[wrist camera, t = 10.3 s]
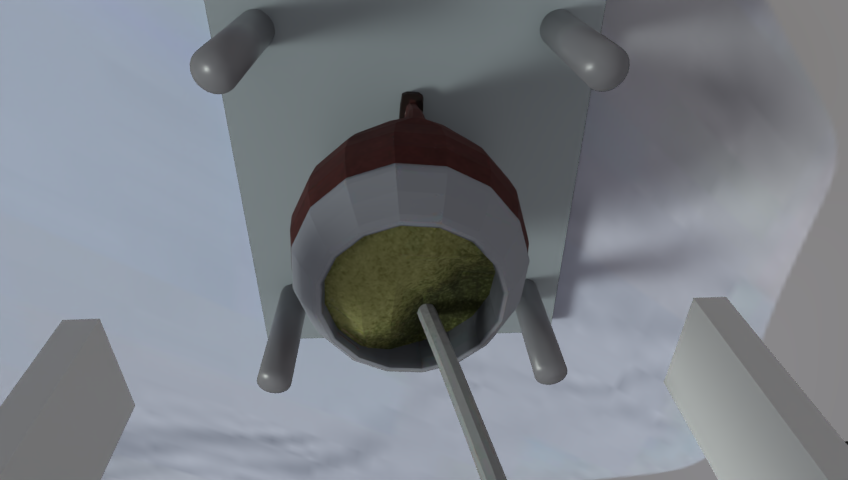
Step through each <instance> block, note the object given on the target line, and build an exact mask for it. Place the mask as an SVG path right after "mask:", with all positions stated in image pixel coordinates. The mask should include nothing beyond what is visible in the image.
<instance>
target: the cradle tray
mask: <svg viewBox="0 0 848 480" xmlns="http://www.w3.org/2000/svg"><path fill="white" fill-rule="evenodd" d="M204 3H205V8H206V13H207V18H208V24H209V29H210V34H211V39H210V40H209V41H208V42H207V43H205V44H204V45H203V46H202V47H200V48H199V49H198V50H197V51H196V52H195V53H194V54H193V56H192V58H191V61H190V71H191V74H192V77H193V79H194V80H195V82H196V83H197V84H198V85H199V86H200V87H201V88H202V89H204V90H206V91H207V92H210V93H213V94H222V98H223V103H224V108H225V114H226V119H227V124H228V130H229V135H230V140H231V146H232V151H233V156H234V161H235V167H236V172H237V177H238V183H239V188H240V193H241V198H242V204H243V209H244V214H245V220H246V225H247V230H248V236H249V241H250V246H251V251H252V257H253V262H254V267H255V273H256V278H257V283H258V288H259V294H260V299H261V304H262V310H263V315H264V320H265V326H266V331H267V336H268V341H267V345H266V348H265V352H264V356H263V359H262V363H261V367H260V370H259V374H258V377H257V383H258V385H259V387H260V388H262V389H263V390H265V391H267V392H270V393H281V392H284V391H286V390H288V389H289V387H290V386H291V382H292V377H293V372H294V367H295V363H296V358H297V353H298V348H299V343H300V338H324V337H323V336H322V335H321V334H320V333H318V331H317V330H316V328H315V327H314V326H313V324H312V323H311V321H310V319H309V317H308V315H307V314H306V312H305V310H304V308H303V306H302V305H301V303H300V301H299V299H298V297H297V295H296V294H295V292H294V290H293V283H292V267H291V242H290V225H291V217H292V214H293V212H294V209H295V207H296V205H297V203H298V201H299V199H300V196H301V194H302V192H303V190H304V188H305V186H306V183H307V181H308V179H309V177H310V175H311V173H312V172H313V170H314V168H315V166H316V165H318V164H319V163H320V162H321V161H322V160H324V159H325V158H326V157H327V156H328V155H329V154H331V153H332V152H333V151H334V150H335V149H336V148H338V147H339V146H340V145H341V144H342V143H344V142H345V141H346V140H347V139H348V138H350V137H351V136H353V135H354V134H356V133H358V132H361V131H364V130H367V129H369V128H372V127H375V126H377V125H380V124H383V123H385V122H388V121H391V120H396V119H399V112H400V102H401V96H402V93H404V92H406V91H408V92H419V93H420V94H422V95H423V114H424V117H425V119H427V120H430V121H433V122H436V123H439V124H442V125H444V126H446V127H448V128H449V129H451V130H453V131H454V132H456V133H458V134H460V135H461V136H463V137H465V138H467V139H468V140H470V141H472V142H474V143H475V144H477V145H478V146H480V147H482V148H483V149H484V151H485V152H486V153H487V154H488V155H489V156H490V158H491V159H492V160H493V161H494V162H495V163H496V165H497V166H498V167H499V168H500V169H501V170H502V172H503V173H504V174H505V175H506V176H507V177H508V179H509V180H510V181H511V183H512V184H513V186H514V187H515V189H516V190H517V194H518V198H519V202H520V207H521V211H522V215H523V219H524V223H525V227H526V231H527V236H528V240H529V249H528V256H529V260H530V261H529V266H528V270H527V274H526V279H525V283H524V287H523V291H522V296H521V300H520V302H519V304H518V306H517V307H516V309H515V311H514V312H513V313H512V315H511V316H510V317H509V318H508V320H507V321H506V322H505V323H504V325H503V326H502V327H501V328H500V330H499V331H498V332H497V333H522V335H523V338H524V342H525V345H526V348H527V352H528V355H529V359H530V362H531V365H532V369H533V372H534V376H535V379H536V380H537V381H538V382H539V383H541V384H546V385H551V384H555V383H558V382H560V381H561V380H563V379H564V378H565V376H566V375H567V367H566V364H565V362H564V359H563V356H562V353H561V351H560V348H559V345H558V343H557V340H556V337H555V334H554V332H553V329H552V326H551V322H552V316H553V310H554V304H555V298H556V292H557V286H558V281H559V275H560V269H561V263H562V257H563V251H564V245H565V239H566V234H567V228H568V222H569V216H570V210H571V204H572V198H573V193H574V187H575V181H576V175H577V169H578V163H579V157H580V152H581V146H582V140H583V134H584V128H585V122H586V116H587V111H588V105H589V99H590V93H591V89H593V90H595V91H601V92H603V91H609V90H612V89H614V88H615V87H617V86H618V85H620V84H621V83H622V81H623V80H624V79H625V77H626V76H627V73H628V70H629V58H628V55H627V53H626V52H625V51H624V50H623V49H622V48H621V47H619V46H618V45H616V44H615V43H614V42H612V41H611V40H609V39H608V38H606V37H605V36H603V35H602V34H601V29H602V23H603V17H604V11H605V5H606V0H204Z"/></svg>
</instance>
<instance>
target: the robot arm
mask: <svg viewBox="0 0 848 480" xmlns="http://www.w3.org/2000/svg"><path fill="white" fill-rule="evenodd" d="M664 384H665V385H666V387H667V389H668V391H669V392H670V394H671V396H672V398H673V400H674V401H675V403H676V405H677V407H678V409H679V410H680V412H681V414H682V416H683V418H684V419H685V421H686V423H687V425H688V426H689V428H690V430H691V432H692V434H693V435H694V437H695V439H696V441H697V443H698V444H699V446H700V448H701V450H702V451H703V453H704V455H705V457H706V459H707V460H708V462H709V464H710V466H711V468H712V469H713V471H714V473H715V475H716V476H717V478H718V480H848V441H846V442H845V441H844V440H843V439H842V438H841V437H840V435H839V434H838V433H837V432H836V430H835V429H834V428H833V427H832V426H831V424H830V423H829V422H828V421H827V420H826V419H825V417H824V416H823V415H822V413H821V412H820V411H819V410H818V409H817V407H816V406H815V405H814V404H813V403H812V401H811V400H810V399H809V398H808V397H807V395H806V394H805V393H804V392H803V390H802V389H801V388H800V387H799V385H798V384H797V383H796V382H795V381H794V379H793V378H792V377H791V376H790V374H789V373H788V372H787V371H786V370H785V368H784V367H783V366H782V365H781V363H780V362H779V361H778V360H777V359H776V357H775V356H774V355H773V354H772V352H770V350H769V349H768V348H767V346H766V345H765V344H764V343H763V342H762V340H761V339H760V338H759V337H758V335H757V334H756V333H755V332H754V331H753V329H752V328H751V327H750V326H749V324H748V323H747V322H746V321H745V320H744V318H743V317H742V316H741V315H740V313H739V312H738V311H737V310H736V309H735V307H734V306H733V305H732V304H731V303H730V301H729V300H728V299H727V298H726V297H710V298H693V301H692V304H691V307H690V309H689V312H688V315H687V318H686V321H685V324H684V326H683V329H682V332H681V335H680V338H679V340H678V343H677V346H676V349H675V352H674V355H673V357H672V360H671V363H670V366H669V369H668V372H667V374H666V377H665V380H664ZM134 407H135V404H134V401H133V399H132V397H131V394H130V392H129V389H128V387H127V384H126V382H125V379H124V377H123V375H122V372H121V370H120V367H119V365H118V362H117V360H116V358H115V355H114V353H113V350H112V348H111V345H110V343H109V341H108V338H107V336H106V333H105V331H104V328H103V326H102V323H101V321H100V319H80V320H62V322H61V323H60V324H59V326H58V327H57V328H56V330H55V331H54V333H53V334H52V335H51V337H50V338H49V340H48V341H47V342H46V344H45V345H44V347H43V348H42V349H41V351H40V352H39V354H38V355H37V356H36V358H35V359H34V361H33V362H32V363H31V365H30V366H29V367H28V369H27V370H26V372H25V373H24V374H23V376H22V377H21V379H20V380H19V381H18V383H17V384H16V386H15V387H14V388H13V390H12V391H11V393H10V394H9V395H8V397H7V398H6V399H5V401H4V402H3V404H2V405H1V406H0V480H101V478H102V476H103V474H104V471H105V469H106V467H107V465H108V463H109V461H110V459H111V456H112V454H113V452H114V450H115V448H116V446H117V443H118V441H119V439H120V437H121V435H122V433H123V431H124V428H125V426H126V424H127V422H128V420H129V418H130V416H131V413H132V411H133V409H134Z"/></svg>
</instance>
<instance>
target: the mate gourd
mask: <svg viewBox="0 0 848 480" xmlns="http://www.w3.org/2000/svg"><path fill="white" fill-rule="evenodd" d="M290 242H291V267H292V283H293V290H294V292H295V294H296V295H297V297H298V299H299V301H300V303H301V305H302V306H303V308H304V310H305V312H306V314H307V315H308V317H309V319H310V321H311V323H312V324H313V326H314V327H315V328H316V330H317V331H318V333H320V334H321V335H322V336H323V337H324V338H326V339H327V340H328V341H329V342H331V343H332V344H333V345H334V346H336V347H337V348H338V349H340V350H341V351H342V352H343V353H345V354H346V355H347V356H349V357H350V358H351V359H352V360H354V361H357V362H360V363H363V364H366V365H369V366H372V367H375V368H378V369H382V370H385V371H398V372H426V371H429V370H433V369H437V368H439V369H440V372H441V374H442V377H443V380H444V382H445V385H446V388H447V390H448V393H449V396H450V398H451V401H452V403H453V406H454V409H455V411H456V414H457V417H458V419H459V422H460V425H461V427H462V430H463V433H464V435H465V438H466V441H467V443H468V446H469V449H470V451H471V454H472V457H473V460H474V462H475V465H476V468H477V470H478V473H479V476H480V479H481V480H507V479H506V476H505V474H504V471H503V469H502V467H501V464H500V462H499V459H498V457H497V454H496V452H495V449H494V447H493V444H492V442H491V440H490V437H489V435H488V432H487V430H486V427H485V425H484V422H483V420H482V418H481V415H480V413H479V410H478V408H477V405H476V403H475V401H474V398H473V396H472V393H471V391H470V388H469V386H468V383H467V381H466V379H465V376H464V374H463V371H462V369H461V366H460V364H459V362H460V361H461V360H463V359H465V358H466V357H468V356H470V355H471V354H473V353H474V352H476V351H478V350H479V349H481V348H483V347H484V346H486V345H487V344H488V343H489V342H490V341H491V339H492V338H493V337H494V336H495V335H496V333H497V332H498V331H499V330H500V328H501V327H502V326H503V325H504V323H505V322H506V321H507V320H508V318H509V317H510V316H511V315H512V313H513V312H514V311H515V309H516V307H517V306H518V304H519V302H520V300H521V296H522V291H523V287H524V283H525V279H526V274H527V270H528V266H529V261H530V260H529V256H528V249H529V240H528V236H527V231H526V227H525V223H524V219H523V215H522V211H521V207H520V202H519V198H518V194H517V190H516V189H515V187H514V186H513V184H512V183H511V181H510V180H509V179H508V177H507V176H506V175H505V174H504V173H503V172H502V170H501V169H500V168H499V167H498V166H497V165H496V163H495V162H494V161H493V160H492V159H491V158H490V156H489V155H488V154H487V153H486V152H485V151H484V149H483V148H482V147H480V146H478V145H477V144H475V143H474V142H472V141H470V140H468V139H467V138H465V137H463V136H461V135H460V134H458V133H456V132H454V131H453V130H451V129H449V128H448V127H446V126H444V125H442V124H439V123H436V122H433V121H430V120H427V119H425V117H424V114H423V95H422V94H420V93H419V92H408V91H406V92H404V93H402V96H401V102H400V112H399V119H396V120H391V121H388V122H385V123H383V124H380V125H377V126H375V127H372V128H369V129H367V130H364V131H361V132H358V133H356V134H354V135H353V136H351V137H350V138H348V139H347V140H346V141H345V142H344V143H342V144H341V145H340V146H339V147H338V148H336V149H335V150H334V151H333V152H332V153H331V154H329V155H328V156H327V157H326V158H325V159H324V160H322V161H321V162H320V163H319V164H318V165H316V166H315V168H314V170H313V172H312V173H311V175H310V177H309V179H308V181H307V183H306V186H305V188H304V190H303V192H302V194H301V196H300V199H299V201H298V203H297V205H296V207H295V209H294V212H293V214H292V217H291V225H290Z"/></svg>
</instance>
